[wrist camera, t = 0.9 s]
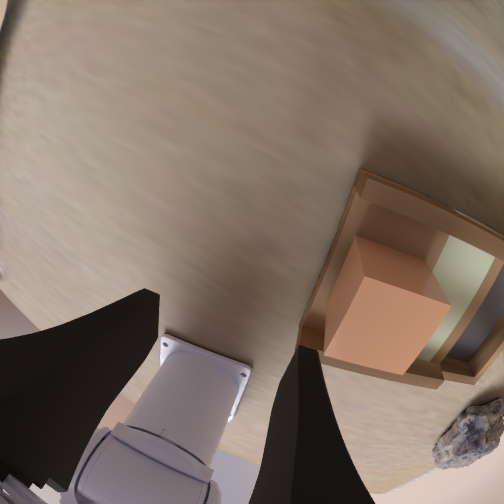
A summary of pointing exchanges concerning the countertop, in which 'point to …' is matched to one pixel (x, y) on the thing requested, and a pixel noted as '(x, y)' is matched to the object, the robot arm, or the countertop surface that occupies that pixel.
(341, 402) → the countertop surface
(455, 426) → the mineral specimen
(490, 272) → the channel
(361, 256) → the block
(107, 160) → the countertop surface
